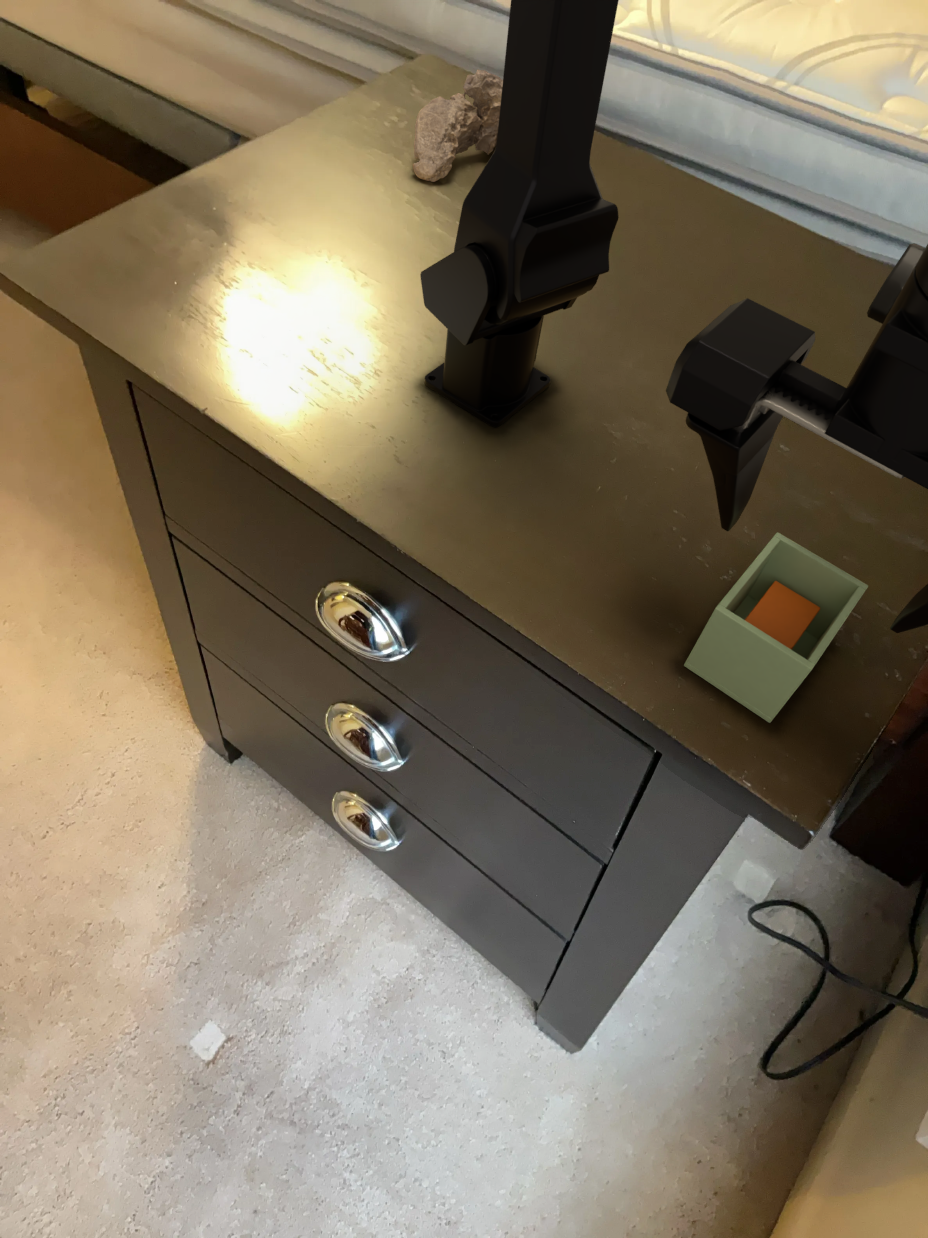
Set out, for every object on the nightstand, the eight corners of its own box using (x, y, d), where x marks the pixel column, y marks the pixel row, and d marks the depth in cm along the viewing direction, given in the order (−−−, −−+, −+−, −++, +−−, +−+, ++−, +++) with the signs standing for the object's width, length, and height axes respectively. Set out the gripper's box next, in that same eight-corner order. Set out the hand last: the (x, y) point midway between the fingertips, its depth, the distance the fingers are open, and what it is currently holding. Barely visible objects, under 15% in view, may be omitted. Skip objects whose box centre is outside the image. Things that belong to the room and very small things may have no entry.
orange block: (763, 689, 47) (784, 659, 44) (718, 660, 48) (737, 629, 45) (798, 638, 49) (821, 607, 47) (755, 611, 50) (775, 579, 47)
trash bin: (769, 723, 46) (812, 669, 42) (683, 665, 48) (715, 608, 43) (824, 643, 49) (868, 585, 45) (742, 591, 51) (777, 531, 47)
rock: (397, 152, 77) (400, 65, 71) (540, 136, 82) (553, 52, 76) (421, 186, 74) (426, 98, 68) (568, 168, 79) (584, 83, 73)
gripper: (1317, 315, 31) (1043, 581, 44) (846, 121, 37) (724, 406, 50) (1267, 474, 26) (969, 727, 38) (721, 216, 31) (619, 510, 44)
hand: (810, 573), depth 43 cm, fingers open, 9 cm apart
